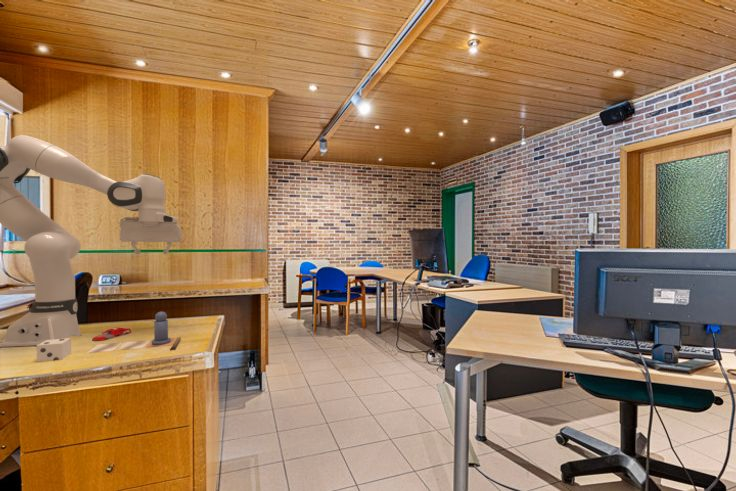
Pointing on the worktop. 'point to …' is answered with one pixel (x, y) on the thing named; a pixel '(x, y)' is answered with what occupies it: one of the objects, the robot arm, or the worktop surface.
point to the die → (53, 349)
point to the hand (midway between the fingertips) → (151, 254)
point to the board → (132, 345)
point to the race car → (112, 334)
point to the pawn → (161, 329)
